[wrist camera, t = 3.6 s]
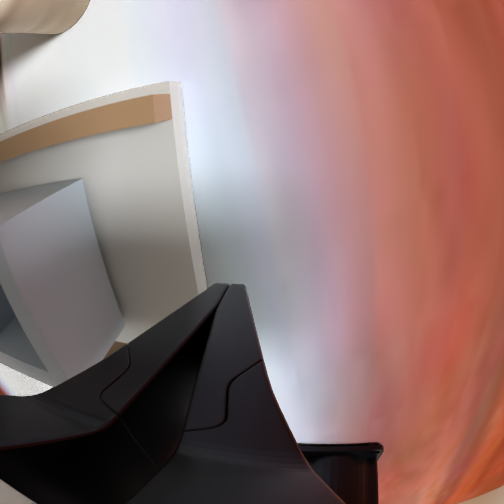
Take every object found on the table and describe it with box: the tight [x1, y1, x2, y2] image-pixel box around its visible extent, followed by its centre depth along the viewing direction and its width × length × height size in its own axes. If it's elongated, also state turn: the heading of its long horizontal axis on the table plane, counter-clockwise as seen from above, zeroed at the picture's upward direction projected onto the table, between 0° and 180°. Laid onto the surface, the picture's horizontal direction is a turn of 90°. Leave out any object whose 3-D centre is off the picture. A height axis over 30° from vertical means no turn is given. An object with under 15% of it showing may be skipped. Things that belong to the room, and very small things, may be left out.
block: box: [0, 179, 125, 387], centre depth 10 cm, size 7×7×4 cm
